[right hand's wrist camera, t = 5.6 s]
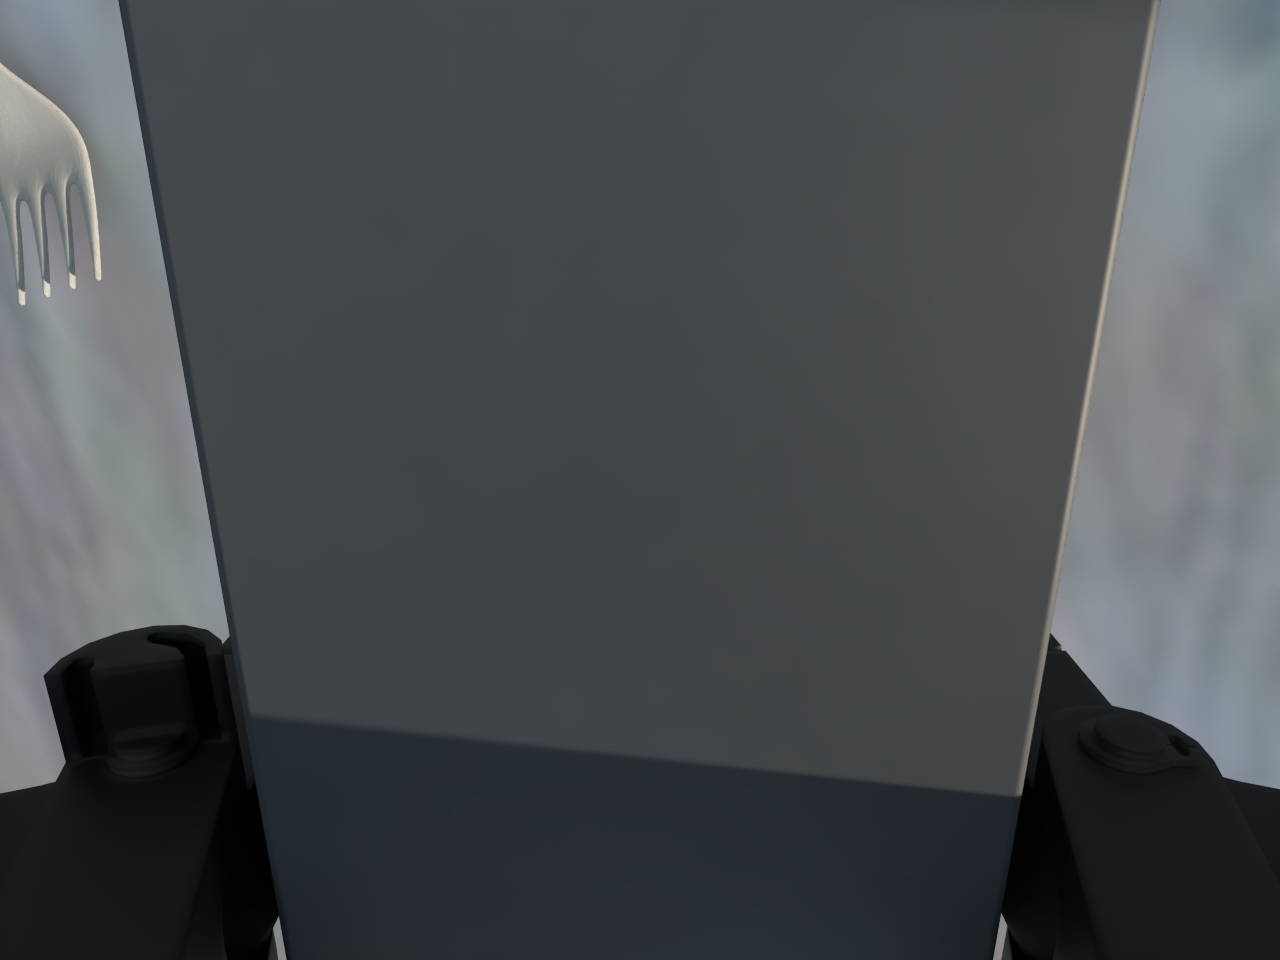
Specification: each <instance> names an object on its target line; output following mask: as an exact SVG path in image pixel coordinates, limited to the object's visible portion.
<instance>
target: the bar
mask: <svg viewBox="0 0 1280 960" xmlns="http://www.w3.org/2000/svg"><path fill="white" fill-rule="evenodd" d="M118 1H119V6H120V12H121V18H122V24H123V29H124V35H125V41H126V46H127V52H128V58H129V63H130V69H131V75H132V81H133V86H134V92H135V98H136V103H137V109H138V115H139V120H140V126H141V132H142V138H143V143H144V149H145V155H146V160H147V166H148V172H149V177H150V183H151V189H152V195H153V200H154V206H155V212H156V217H157V223H158V229H159V234H160V240H161V246H162V252H163V257H164V263H165V269H166V274H167V280H168V286H169V291H170V297H171V303H172V309H173V314H174V320H175V326H176V331H177V337H178V343H179V348H180V354H181V360H182V366H183V371H184V377H185V383H186V388H187V394H188V400H189V405H190V411H191V417H192V423H193V428H194V434H195V440H196V445H197V451H198V457H199V463H200V468H201V474H202V480H203V485H204V491H205V497H206V502H207V508H208V514H209V520H210V525H211V531H212V537H213V542H214V548H215V554H216V559H217V565H218V571H219V577H220V582H221V588H222V594H223V599H224V605H225V611H226V616H227V622H228V628H229V634H230V639H231V645H232V651H233V656H234V662H235V668H236V673H237V679H238V685H239V691H240V696H241V702H242V708H243V713H244V719H245V725H246V730H247V736H248V742H249V748H250V753H251V759H252V765H253V770H254V776H255V782H256V787H257V793H258V799H259V805H260V810H261V816H262V822H263V827H264V833H265V839H266V844H267V850H268V856H269V862H270V867H271V873H272V879H273V884H274V890H275V896H276V901H277V907H278V913H279V919H280V924H281V930H282V936H283V941H284V947H285V953H286V958H287V960H993V956H994V950H995V945H996V939H997V933H998V928H999V922H1000V916H1001V910H1002V905H1003V899H1004V893H1005V888H1006V882H1007V876H1008V871H1009V865H1010V859H1011V853H1012V848H1013V842H1014V836H1015V831H1016V825H1017V819H1018V813H1019V808H1020V802H1021V796H1022V791H1023V785H1024V779H1025V773H1026V768H1027V762H1028V756H1029V751H1030V745H1031V739H1032V734H1033V728H1034V722H1035V716H1036V711H1037V705H1038V699H1039V694H1040V688H1041V682H1042V676H1043V671H1044V665H1045V659H1046V654H1047V648H1048V642H1049V637H1050V631H1051V625H1052V619H1053V614H1054V608H1055V602H1056V597H1057V591H1058V585H1059V579H1060V574H1061V568H1062V562H1063V557H1064V551H1065V545H1066V540H1067V534H1068V528H1069V522H1070V517H1071V511H1072V505H1073V500H1074V494H1075V488H1076V482H1077V477H1078V471H1079V465H1080V460H1081V454H1082V448H1083V442H1084V437H1085V431H1086V425H1087V420H1088V414H1089V408H1090V403H1091V397H1092V391H1093V385H1094V380H1095V374H1096V368H1097V363H1098V357H1099V351H1100V345H1101V340H1102V334H1103V328H1104V323H1105V317H1106V311H1107V306H1108V300H1109V294H1110V288H1111V283H1112V277H1113V271H1114V266H1115V260H1116V254H1117V248H1118V243H1119V237H1120V231H1121V226H1122V220H1123V214H1124V209H1125V203H1126V197H1127V191H1128V186H1129V180H1130V174H1131V169H1132V163H1133V157H1134V151H1135V146H1136V140H1137V134H1138V129H1139V123H1140V117H1141V111H1142V106H1143V100H1144V94H1145V89H1146V83H1147V77H1148V72H1149V66H1150V60H1151V54H1152V49H1153V43H1154V37H1155V32H1156V26H1157V20H1158V14H1159V9H1160V3H1161V0H118Z"/></svg>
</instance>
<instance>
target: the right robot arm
mask: <svg viewBox="0 0 1280 960" xmlns="http://www.w3.org/2000/svg"><path fill="white" fill-rule="evenodd" d="M44 679H45V683H46V687H47V691H48V695H49V699H50V702H51V706H52V710H53V714H54V718H55V722H56V726H57V729H58V733H59V737H60V741H61V745H62V749H63V753H64V756H65V760H66V763H65V765H64V767H63V769H62V771H61V773H60V775H59V776H58V778H57V780H56V782H53V783H49V784H45V785H41V786H37V787H32V788H26V789H21V790H16V791H11V792H6V793H1V794H0V960H278V955H277V948H276V942H275V937H274V931H273V927H274V925H275V923H276V921H277V918H278V916H279V913H278V907H277V901H276V896H275V890H274V884H273V879H272V873H271V867H270V862H269V856H268V850H267V844H266V839H265V833H264V827H263V822H262V816H261V810H260V805H259V799H258V793H257V787H256V782H255V776H254V770H253V765H252V759H251V753H250V748H249V742H248V736H247V730H246V725H245V719H244V713H243V708H242V702H241V696H240V691H239V685H238V679H237V673H236V668H235V662H234V656H233V651H232V645H231V639H230V636H229V637H228V639H227V640H226V641H225V642H224V643H223V645H222V642H221V640H220V639H219V638H218V637H216V636H215V635H214V634H212V633H211V632H210V631H209V630H206V629H201V628H196V627H191V626H187V625H166V626H151V627H145V628H140V629H135V630H130V631H124V632H120V633H117V634H114V635H111V636H108V637H106V638H103V639H100V640H97V641H94V642H91V643H88V644H87V645H85V646H83V647H81V648H79V649H78V650H76V651H74V652H72V653H70V654H69V655H67V656H65V657H63V658H61V659H60V660H59V661H58V662H57V663H56V664H55V665H54V666H53V667H52V668H51V669H50V670H49V671H48V672H47V673H46V674H45V675H44ZM1001 913H1002V915H1003V917H1004V919H1005V921H1006V923H1007V931H1006V937H1005V942H1004V948H1003V954H1002V959H1001V960H1280V789H1275V788H1270V787H1265V786H1260V785H1255V784H1250V783H1245V782H1240V781H1236V780H1232V779H1228V778H1224V777H1222V775H1221V773H1220V771H1219V769H1218V767H1217V765H1216V764H1215V762H1214V760H1213V759H1212V758H1211V757H1210V756H1209V755H1208V753H1207V752H1206V751H1205V750H1204V749H1203V747H1202V746H1201V745H1200V744H1199V743H1198V742H1197V741H1196V740H1194V739H1192V738H1191V737H1189V736H1188V735H1186V734H1185V733H1183V732H1182V731H1180V730H1179V729H1177V728H1176V727H1174V726H1173V725H1171V724H1168V723H1166V722H1163V721H1161V720H1159V719H1156V718H1154V717H1151V716H1149V715H1146V714H1144V713H1142V712H1137V711H1133V710H1128V709H1124V708H1119V707H1115V706H1112V705H1111V704H1110V703H1109V702H1108V701H1107V699H1106V698H1105V697H1104V696H1103V695H1102V694H1101V692H1100V691H1099V690H1098V689H1097V688H1096V686H1095V685H1094V684H1093V683H1092V682H1091V680H1090V679H1089V678H1088V677H1087V676H1086V675H1085V673H1084V672H1083V671H1082V670H1081V669H1080V667H1079V666H1078V665H1077V664H1076V663H1075V661H1074V660H1073V659H1072V658H1071V657H1070V656H1069V654H1068V653H1067V652H1066V651H1062V650H1061V645H1060V644H1059V642H1058V641H1057V640H1056V639H1055V638H1054V637H1053V635H1052V634H1051V633H1050V637H1049V642H1048V648H1047V654H1046V659H1045V665H1044V671H1043V676H1042V682H1041V688H1040V694H1039V699H1038V705H1037V711H1036V716H1035V722H1034V728H1033V734H1032V739H1031V745H1030V751H1029V756H1028V762H1027V768H1026V773H1025V779H1024V785H1023V791H1022V796H1021V802H1020V808H1019V813H1018V819H1017V825H1016V831H1015V836H1014V842H1013V848H1012V853H1011V859H1010V865H1009V871H1008V876H1007V882H1006V888H1005V893H1004V899H1003V905H1002V910H1001Z"/></svg>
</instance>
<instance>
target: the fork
mask: <svg viewBox="0 0 1280 960" xmlns="http://www.w3.org/2000/svg"><path fill="white" fill-rule="evenodd" d="M73 183H74V184H76V186H77V187H78V190H79V193H80V196H81V200H82V205H83V210H84V215H85V220H86V225H87V230H88V236H89V241H90V247H91V253H92V259H93V266H94V278H95V279H96V280H98V281H99V280H101V263H100V247H99V234H98V221H97V211H96V203H95V195H94V188H93V181H92V174H91V167H90V161H89V157H88V153H87V149H86V146H85V143H84V141H83V139H82V137H81V135H80V133H79V132H78V130H77V128H76V127H75V126H74V124H73V123H72V122H71V120H70V119H69V118H68V117H67V116H66V115H65V114H64V113H63V112H62V111H61V110H60V109H59V108H58V107H57V106H56V105H55V104H53V103H52V102H51V101H50V100H49V99H47V98H46V97H45V96H43V95H42V94H41V93H39V92H38V91H37V90H35V89H34V88H32V87H31V86H30V85H28V84H27V83H26V82H24V81H23V80H21V79H20V78H19V77H17V76H16V75H15V74H13V73H12V72H11V71H9V70H8V69H7V68H6V67H5V66H3V65H2V64H1V63H0V201H1V204H2V207H3V211H4V215H5V219H6V224H7V229H8V234H9V239H10V245H11V251H12V258H13V264H14V271H15V278H16V285H17V301H18V304H20V305H25V284H24V263H23V247H22V234H21V224H20V203H21V201H23V200H24V201H26V202H27V204H28V207H29V209H30V213H31V217H32V221H33V227H34V232H35V238H36V244H37V249H38V255H39V262H40V268H41V275H42V283H43V293H44V295H45V296H47V297H49V296H50V274H49V256H48V240H47V228H46V218H45V207H44V198H45V194H46V193H47V192H50V193H51V194H52V196H53V198H54V201H55V205H56V209H57V213H58V219H59V224H60V229H61V235H62V240H63V246H64V252H65V258H66V265H67V271H68V281H69V286H70V287H71V288H73V289H75V261H74V245H73V232H72V221H71V211H70V200H69V189H70V186H71V184H73Z"/></svg>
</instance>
